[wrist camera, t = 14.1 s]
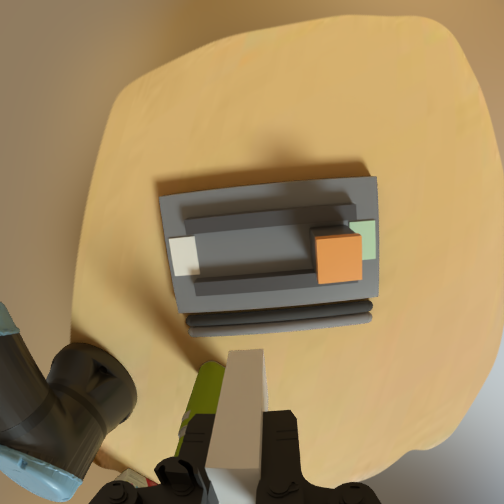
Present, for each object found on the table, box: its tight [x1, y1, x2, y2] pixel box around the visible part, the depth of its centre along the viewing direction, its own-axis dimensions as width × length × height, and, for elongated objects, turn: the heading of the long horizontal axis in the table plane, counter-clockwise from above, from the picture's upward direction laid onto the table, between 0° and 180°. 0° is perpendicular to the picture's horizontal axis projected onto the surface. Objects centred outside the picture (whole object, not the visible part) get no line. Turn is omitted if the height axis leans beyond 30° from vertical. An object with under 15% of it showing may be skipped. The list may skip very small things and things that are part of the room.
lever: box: [309, 225, 362, 284], centre depth 32 cm, size 4×4×6 cm
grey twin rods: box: [186, 300, 373, 337], centre depth 39 cm, size 23×3×1 cm, turn 96°
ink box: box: [114, 468, 158, 488], centre depth 47 cm, size 9×9×12 cm
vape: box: [174, 361, 225, 457], centre depth 33 cm, size 4×6×20 cm, turn 52°
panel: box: [159, 176, 379, 313], centre depth 36 cm, size 24×14×4 cm, turn 96°
